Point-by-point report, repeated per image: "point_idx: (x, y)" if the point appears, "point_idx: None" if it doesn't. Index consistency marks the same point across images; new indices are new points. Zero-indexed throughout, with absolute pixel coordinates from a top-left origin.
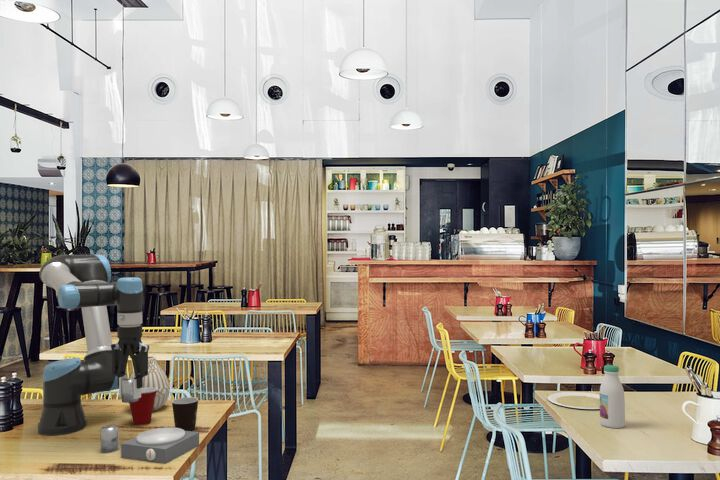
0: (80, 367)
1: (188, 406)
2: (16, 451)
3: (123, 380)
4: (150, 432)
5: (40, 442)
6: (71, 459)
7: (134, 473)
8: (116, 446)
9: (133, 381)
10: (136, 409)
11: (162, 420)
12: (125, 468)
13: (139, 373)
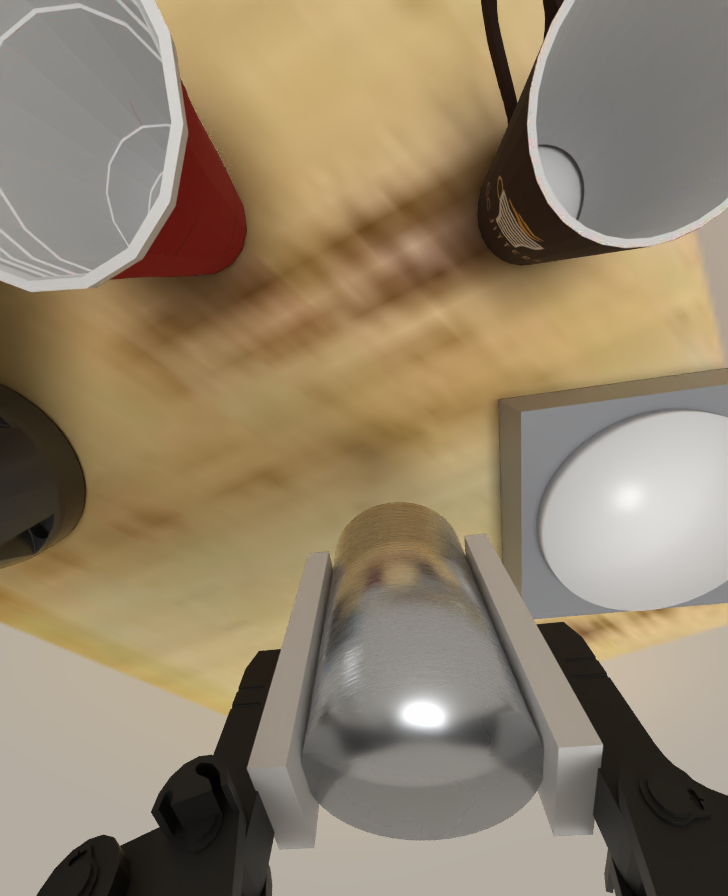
0: None
1: (725, 184)
2: (145, 663)
3: (409, 836)
4: (585, 521)
5: (112, 594)
6: None
7: (647, 647)
8: None
9: (541, 784)
10: (183, 270)
11: (262, 114)
12: (590, 634)
13: (654, 880)
